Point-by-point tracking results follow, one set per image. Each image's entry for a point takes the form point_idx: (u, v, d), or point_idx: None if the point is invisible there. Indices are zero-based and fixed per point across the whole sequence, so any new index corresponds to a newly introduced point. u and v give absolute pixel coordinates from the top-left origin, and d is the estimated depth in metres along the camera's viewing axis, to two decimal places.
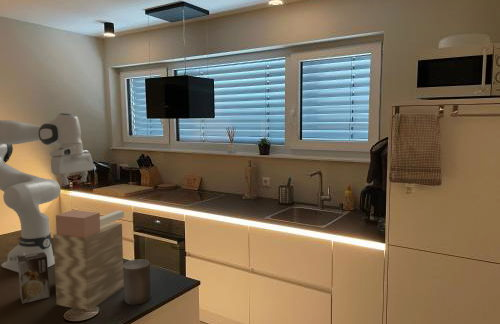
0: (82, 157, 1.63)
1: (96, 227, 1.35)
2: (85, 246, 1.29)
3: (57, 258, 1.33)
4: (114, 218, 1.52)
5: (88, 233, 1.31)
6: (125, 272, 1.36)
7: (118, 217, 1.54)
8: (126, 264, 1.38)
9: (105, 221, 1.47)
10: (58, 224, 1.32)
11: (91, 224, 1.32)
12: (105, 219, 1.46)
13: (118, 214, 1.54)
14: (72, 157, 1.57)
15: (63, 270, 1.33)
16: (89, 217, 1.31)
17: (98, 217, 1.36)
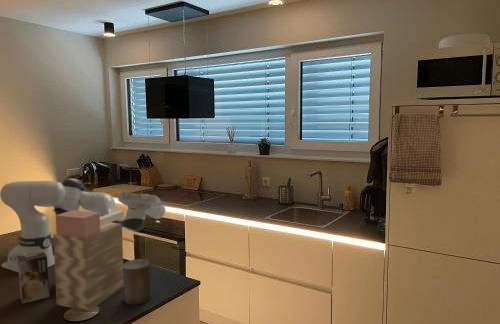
0: None
1: (96, 227, 1.35)
2: (85, 246, 1.29)
3: (57, 258, 1.33)
4: (114, 218, 1.52)
5: (88, 233, 1.31)
6: (125, 272, 1.36)
7: (118, 217, 1.54)
8: (126, 264, 1.38)
9: (105, 221, 1.47)
10: (58, 224, 1.32)
11: (91, 224, 1.32)
12: (105, 219, 1.46)
13: (118, 214, 1.54)
14: None
15: (63, 270, 1.33)
16: (89, 217, 1.31)
17: (98, 217, 1.36)
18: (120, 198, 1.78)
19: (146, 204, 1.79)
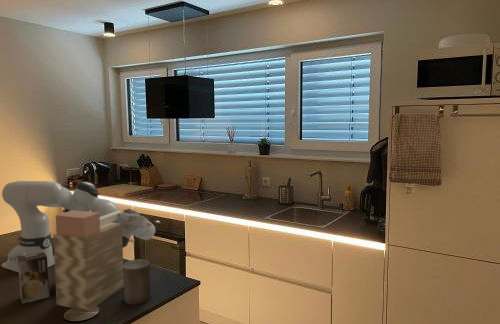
0: None
1: (96, 227, 1.35)
2: (85, 246, 1.29)
3: (57, 258, 1.33)
4: (114, 218, 1.52)
5: (88, 233, 1.31)
6: (125, 272, 1.36)
7: None
8: (126, 264, 1.38)
9: (105, 221, 1.47)
10: (58, 224, 1.32)
11: (91, 224, 1.32)
12: (105, 219, 1.46)
13: None
14: None
15: (63, 270, 1.33)
16: (89, 217, 1.31)
17: (98, 217, 1.36)
18: None
19: (132, 225, 1.62)
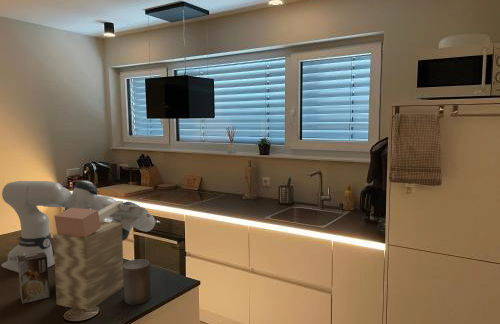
0: None
1: (96, 224, 1.35)
2: (85, 246, 1.29)
3: (57, 258, 1.33)
4: (114, 210, 1.51)
5: (88, 232, 1.31)
6: (125, 272, 1.36)
7: None
8: (126, 264, 1.38)
9: (105, 214, 1.47)
10: (58, 224, 1.32)
11: (90, 223, 1.32)
12: (105, 213, 1.46)
13: (117, 205, 1.54)
14: None
15: (63, 270, 1.33)
16: (88, 216, 1.31)
17: (97, 214, 1.35)
18: None
19: (132, 216, 1.61)
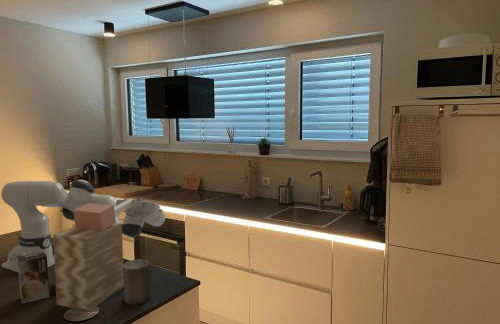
0: None
1: (112, 219, 1.43)
2: (85, 246, 1.29)
3: (57, 258, 1.33)
4: (127, 207, 1.60)
5: (105, 226, 1.39)
6: (125, 272, 1.36)
7: (131, 205, 1.62)
8: (126, 264, 1.39)
9: (119, 211, 1.55)
10: (76, 218, 1.40)
11: (107, 217, 1.40)
12: (119, 209, 1.54)
13: (130, 202, 1.62)
14: None
15: (63, 270, 1.33)
16: (105, 211, 1.39)
17: (113, 210, 1.43)
18: None
19: (145, 211, 1.70)
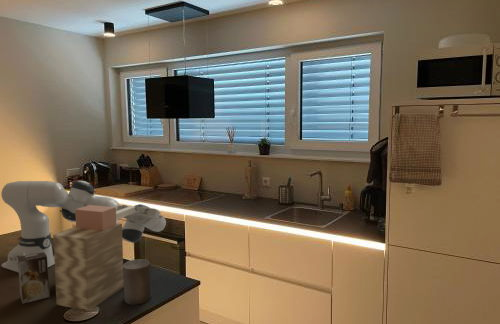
0: None
1: (113, 220, 1.44)
2: (85, 246, 1.29)
3: (57, 258, 1.33)
4: (128, 213, 1.61)
5: (105, 226, 1.40)
6: (125, 272, 1.36)
7: (131, 212, 1.63)
8: (126, 264, 1.38)
9: (120, 215, 1.56)
10: (77, 217, 1.41)
11: (108, 218, 1.41)
12: (120, 213, 1.55)
13: (131, 209, 1.63)
14: None
15: (63, 270, 1.33)
16: (107, 211, 1.40)
17: (114, 211, 1.45)
18: None
19: (145, 217, 1.71)
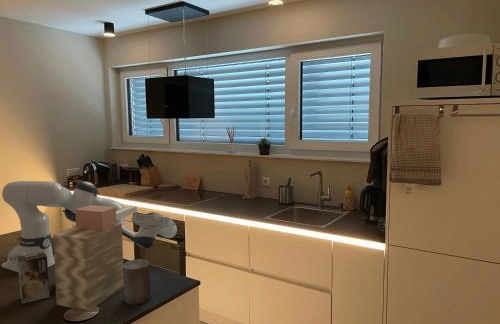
0: None
1: (113, 220, 1.44)
2: (85, 246, 1.29)
3: (57, 258, 1.33)
4: (128, 213, 1.61)
5: (105, 226, 1.40)
6: (125, 272, 1.36)
7: (131, 212, 1.63)
8: (126, 264, 1.38)
9: (120, 215, 1.56)
10: (77, 217, 1.41)
11: (108, 218, 1.41)
12: (120, 213, 1.55)
13: (131, 209, 1.63)
14: None
15: (63, 270, 1.33)
16: (107, 211, 1.40)
17: (114, 211, 1.45)
18: (134, 219, 1.82)
19: (159, 225, 1.83)
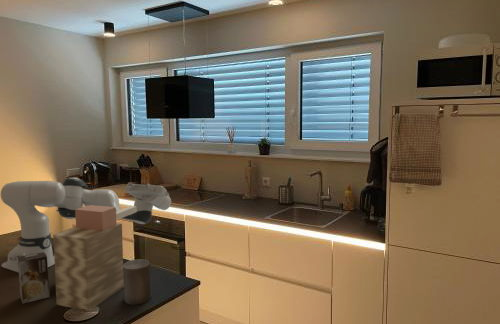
0: None
1: (113, 220, 1.44)
2: (85, 246, 1.29)
3: (57, 258, 1.33)
4: (128, 213, 1.61)
5: (105, 226, 1.40)
6: (125, 272, 1.36)
7: (131, 212, 1.63)
8: (126, 264, 1.38)
9: (120, 215, 1.56)
10: (77, 217, 1.41)
11: (108, 218, 1.41)
12: (120, 213, 1.55)
13: (131, 209, 1.63)
14: None
15: (63, 270, 1.33)
16: (107, 211, 1.40)
17: (114, 211, 1.45)
18: (127, 188, 1.83)
19: (153, 195, 1.84)
